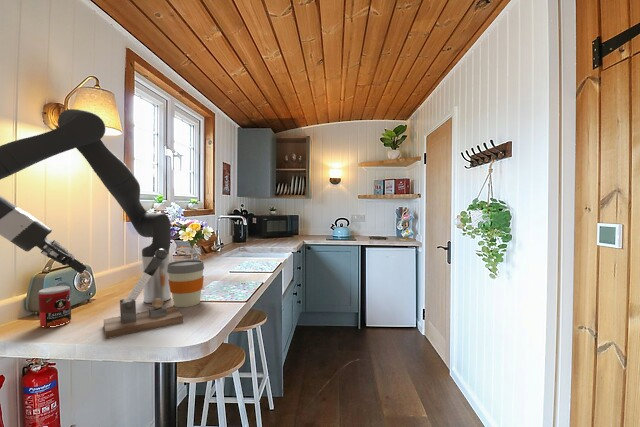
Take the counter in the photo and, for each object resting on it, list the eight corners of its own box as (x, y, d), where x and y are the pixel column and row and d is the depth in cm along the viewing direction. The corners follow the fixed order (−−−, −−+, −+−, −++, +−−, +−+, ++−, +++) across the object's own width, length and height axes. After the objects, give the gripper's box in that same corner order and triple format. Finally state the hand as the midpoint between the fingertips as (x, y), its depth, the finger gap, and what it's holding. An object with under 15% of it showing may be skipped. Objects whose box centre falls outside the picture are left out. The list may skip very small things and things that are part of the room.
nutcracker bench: (103, 325, 100) (102, 299, 100) (174, 312, 112) (173, 288, 111) (105, 338, 90) (104, 309, 90) (182, 322, 102) (182, 296, 102)
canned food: (46, 330, 98) (44, 293, 97) (35, 325, 102) (33, 290, 101) (76, 322, 104) (74, 287, 104) (65, 317, 108) (63, 284, 108)
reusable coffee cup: (178, 298, 128) (176, 260, 128) (210, 298, 128) (208, 259, 127) (161, 308, 116) (160, 266, 115) (196, 308, 115) (195, 265, 115)
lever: (118, 304, 99) (158, 246, 105) (129, 309, 100) (168, 251, 106) (119, 307, 96) (160, 247, 102) (131, 312, 97) (170, 252, 103)
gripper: (32, 219, 81) (95, 263, 88) (38, 217, 91) (94, 256, 99) (4, 243, 78) (71, 286, 85) (14, 238, 89) (73, 277, 96)
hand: (83, 270), depth 92 cm, fingers closed
